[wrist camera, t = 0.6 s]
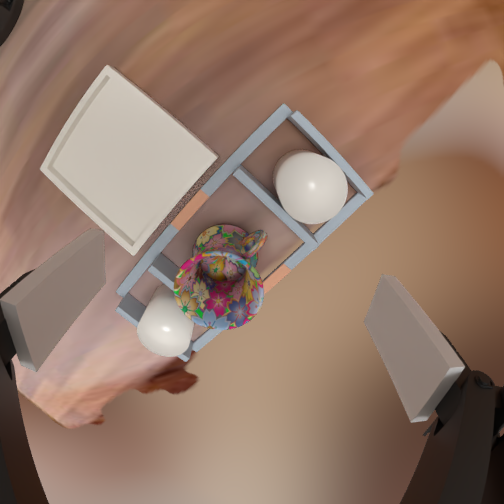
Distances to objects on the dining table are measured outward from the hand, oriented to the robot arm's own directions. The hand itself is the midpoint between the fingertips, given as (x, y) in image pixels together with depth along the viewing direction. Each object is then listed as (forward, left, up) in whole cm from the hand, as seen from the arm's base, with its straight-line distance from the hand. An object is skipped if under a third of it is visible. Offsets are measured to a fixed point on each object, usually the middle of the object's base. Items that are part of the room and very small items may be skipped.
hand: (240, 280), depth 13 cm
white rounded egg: (+4, -20, -25) cm, 32 cm away
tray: (-14, -8, -25) cm, 30 cm away
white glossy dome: (+4, +5, -25) cm, 26 cm away
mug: (+4, -7, -25) cm, 27 cm away
